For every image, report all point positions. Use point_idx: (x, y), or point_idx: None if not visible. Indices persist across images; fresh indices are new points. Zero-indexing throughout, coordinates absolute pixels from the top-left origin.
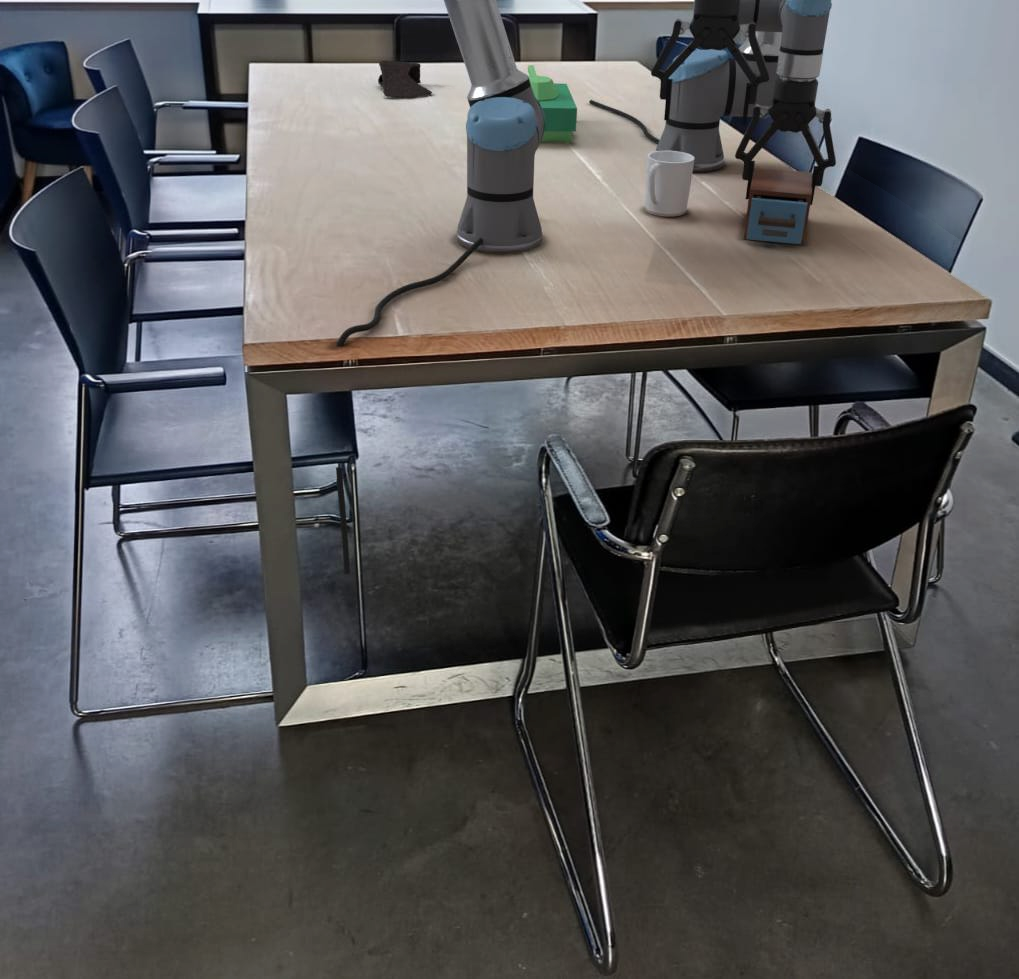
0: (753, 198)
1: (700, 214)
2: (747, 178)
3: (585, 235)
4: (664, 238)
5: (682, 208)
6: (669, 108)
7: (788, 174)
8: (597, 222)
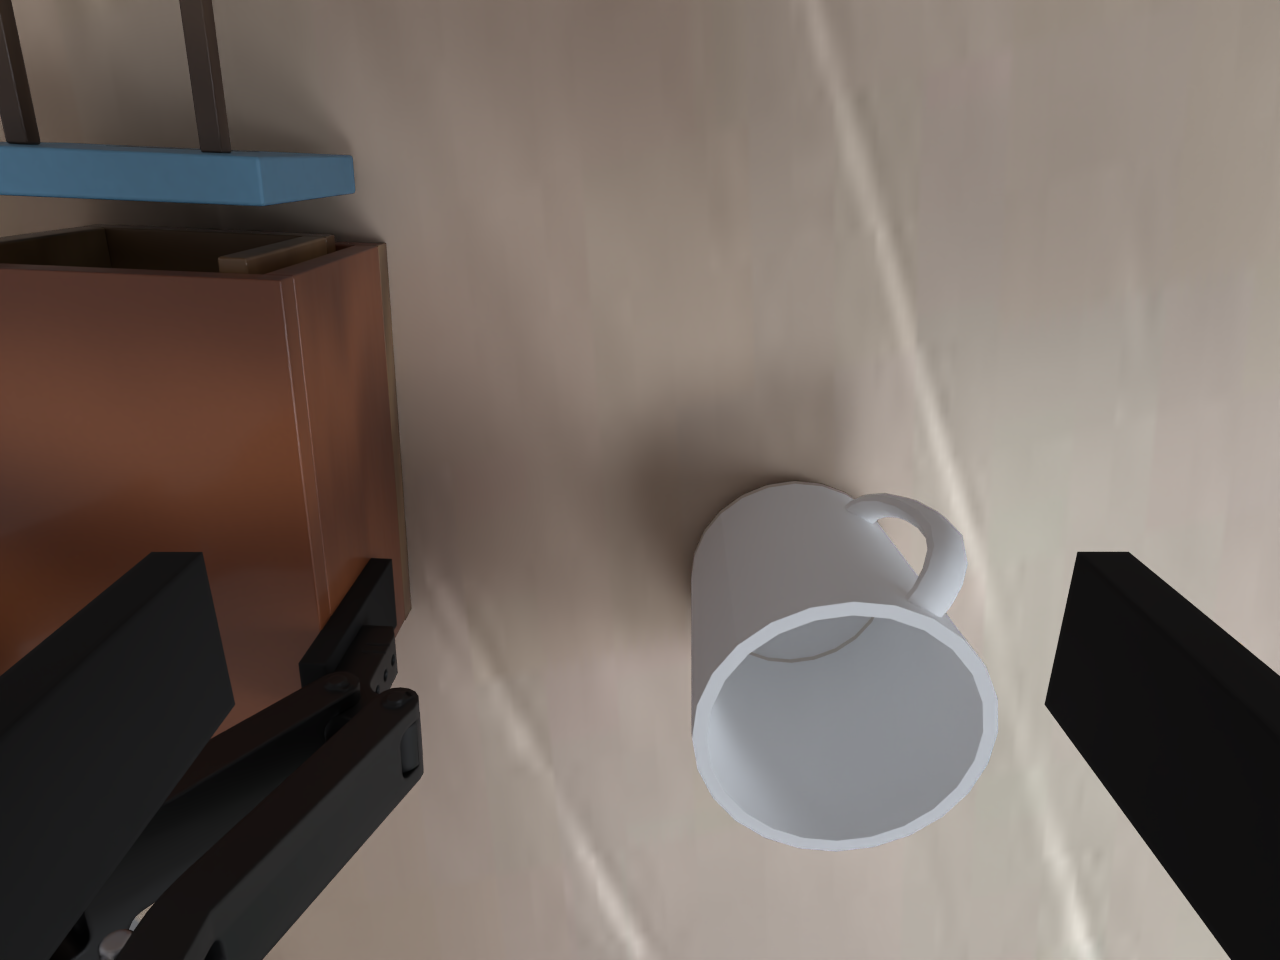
0: (252, 186)
1: (624, 565)
2: (364, 630)
3: (1225, 76)
4: (788, 142)
5: (713, 531)
6: (1145, 653)
7: None
8: (1136, 322)
